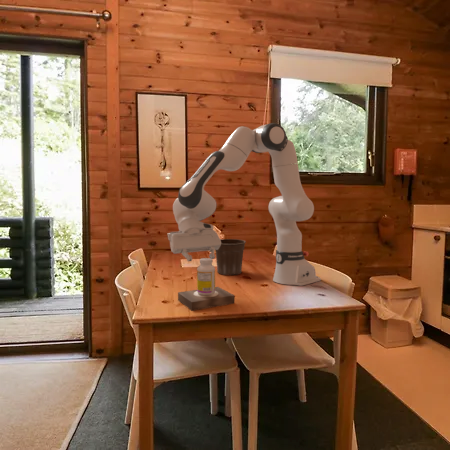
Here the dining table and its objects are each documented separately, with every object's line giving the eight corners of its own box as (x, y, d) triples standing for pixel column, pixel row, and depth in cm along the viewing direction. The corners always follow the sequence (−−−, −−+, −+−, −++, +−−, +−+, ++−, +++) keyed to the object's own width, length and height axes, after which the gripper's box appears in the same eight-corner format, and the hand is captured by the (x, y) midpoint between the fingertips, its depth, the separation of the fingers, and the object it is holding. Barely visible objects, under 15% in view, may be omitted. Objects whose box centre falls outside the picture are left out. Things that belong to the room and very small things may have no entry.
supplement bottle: (205, 289, 133) (205, 256, 132) (218, 292, 129) (219, 258, 127) (193, 293, 128) (193, 259, 126) (206, 297, 123) (206, 261, 122)
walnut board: (218, 294, 138) (218, 286, 138) (234, 303, 127) (234, 294, 126) (178, 300, 130) (178, 291, 130) (191, 310, 119) (191, 301, 118)
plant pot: (242, 277, 165) (243, 244, 164) (210, 275, 168) (210, 242, 167) (247, 270, 181) (247, 239, 180) (217, 268, 184) (217, 238, 183)
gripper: (168, 227, 131) (177, 256, 123) (216, 224, 141) (227, 252, 133) (164, 237, 135) (173, 266, 127) (211, 234, 145) (222, 261, 137)
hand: (201, 259), depth 130 cm, fingers open, 8 cm apart
